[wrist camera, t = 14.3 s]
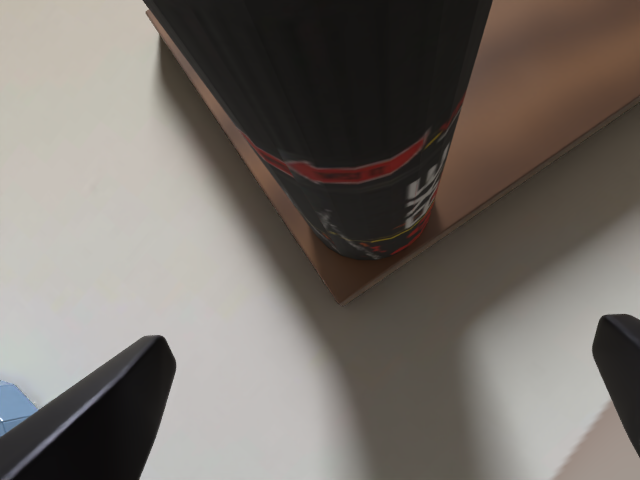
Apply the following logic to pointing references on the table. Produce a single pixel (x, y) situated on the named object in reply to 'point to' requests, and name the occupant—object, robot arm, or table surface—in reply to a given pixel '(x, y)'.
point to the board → (491, 118)
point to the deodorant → (340, 101)
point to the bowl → (13, 407)
